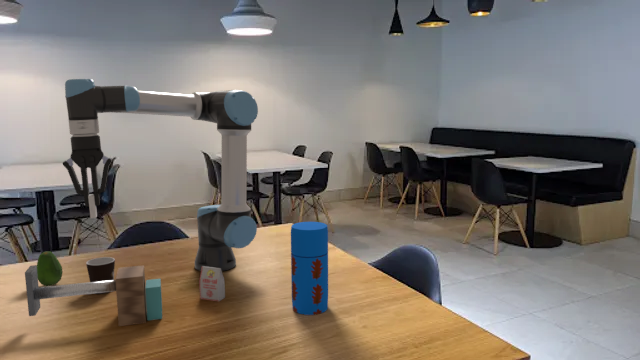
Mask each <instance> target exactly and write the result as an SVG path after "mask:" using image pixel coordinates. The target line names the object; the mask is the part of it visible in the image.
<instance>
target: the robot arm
mask: <svg viewBox="0 0 640 360" xmlns="http://www.w3.org/2000/svg"><path fill="white" fill-rule="evenodd" d="M64 91H65V92H64V93H65V94H64V95H65V102H66V109H67V116H68V129H69V135H70V136H71V135H72V136H71V137H70V145H71V154H70V157H69V158H68V159H66V160H64V161H63V162H62V165H63V167H64V168H65V169H66V170H67V172H68V174H69V177H70V180H71V183H72V185H73V188H74V190H75V193H76V194H77V195H82V196H83V200H84V206H85V207H89V217H90V218H89V219H96V218H97V217H98V212H97V211H98V210H97V206H100V204H101V202H100V201H101V199H100V194H101V193H105V191H106V188H107V181H108V174H109V169H110V165H111V164H112V162H113V158H111V157H108V156H106V155H104V152H103V151H102V145H101V137H100V135H99V133H100V124H99V116H98V114H101V113H121V114H135V115H137V114H139V115H154V116H155V115H156V116H169V117H170V116H171V117H172V116H173V117H190V118H191V120H194V121H203V122H209V123H215V124H216V131H217V132H219V134H221V204H214V205H213V204H212V205H211V204H210V205H206V206H202V207H199V208H198V209H197V215H196V216H197V217H196V219H197V220H196V221H197V238H198V248H197V250H196V251H197V252H196V255H195V259H194V269H196V270H197V271H200V272H201V267H202V266H205V267H214V268H221V271H222V272H224V271H228V270H231V269H233V268H234V267H236V265H237V262H236V261H237V260H236V256H235V254H234V251H233V248H234V249H243V248H246V247H248V246H249V245H250V244H251V243H252V241H254V240H255V238H256V236H257V232H258V231H257V230H258V226H257V223H256V221H255V220H254V219H253V217H252V215H251V214H252V213H251V211H252V209H251V207H250V206H249V205H248V204H247V187H248V186H247V182H248V180H247V176H248V175H247V173H248V172H247V171H248V170H247V166H248V164H247V163H248V162H247V159H248V156H247V155H248V154H247V153H248V152H247V151H248V149H247V148H248V147H247V146H248V136H249V135H248V134H250V133H251V131H252V124H253V123H254V122H255V120H256V119H257V118H258V115H259V108H258V103H257V101H256V99H255V97H254V96H253V95H252V94H251V93H250V92H248V91H245V90H239V89H231V90H216V91H208V92H198V91H197V92H196V91H195V92H194V91H193V92H192V93H190V94H184V93H173V92H162V91H153V90H152V91H148V90H138V89H137V88H136V87H135V86H134V85H125V84H124V85H107V86H106V85H104V86H101V85H96V84H95V81H94V80H93V79H91V78H73V79H68V80H67V79H66V81H65V83H64ZM101 160H102V163H103V167H102V168H103V169H102V175H101V181H100V188H99V181H98V171H97V170H98V169H97V167H98V165H99V164H100V162H101ZM74 164H75V165H77V166H78V168H80V169H79V170H80V176H81V184H82V186H81V184H80V181H79V179H78V176H77V174H76V170H75V168H74ZM88 168H89V169H90V173H91V182H92V183H91V185H92V192H93V193H90V187H89V178H88Z"/></svg>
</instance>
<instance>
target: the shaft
mask: <svg viewBox="0 0 640 360" xmlns="http://www.w3.org/2000/svg"><path fill="white" fill-rule="evenodd" d="M24 277H25V279H24V280H25V289H26V298H27V299H26V301H27V309H28V310H27V311H28V317H35V316H37V313H38V312H39V311H40V308H41V300H44V299H46V300H47V299H54V298H55V299H56V298H63V297H74V296H83V295H92V294H94V293H104V292H109V293H111V292H116V279H114V280H107V281H97V282H90V281H88V282H87V281H86V282H80V283H79V282H78V283H68V284H60V285H59V284H58V285H53V286H39V281H38V275H37V264H36V265H35V264H34V265H30V266H29V267H28V268H27V270H26V271H25V272H24ZM94 295H95V294H94Z"/></svg>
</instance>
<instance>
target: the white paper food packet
mask: <svg viewBox="0 0 640 360" xmlns="http://www.w3.org/2000/svg"><path fill="white" fill-rule="evenodd" d="M198 282H199V283H198V284H199V285H198V286H199V299H200V300H207V301H214V302H220V301H222V300H224V299H225V298H226V287H225V284H226V283H225V277H224V274H223V271H221V268H214V267H205V266H202V267H201V271H200V275H199V280H198Z"/></svg>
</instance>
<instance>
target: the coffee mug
mask: <svg viewBox="0 0 640 360" xmlns="http://www.w3.org/2000/svg"><path fill="white" fill-rule="evenodd" d="M115 262H116V259H115V258H114V257H111V256H103V257H96V258H92V259H89V260H87V261H86V263H85V264H86V269H87V272H88V273H87V274H88V279H89V282H97V281H107V280H115V266H116V263H115ZM109 293H110V292H104V293H94V295H105V294H109Z"/></svg>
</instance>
